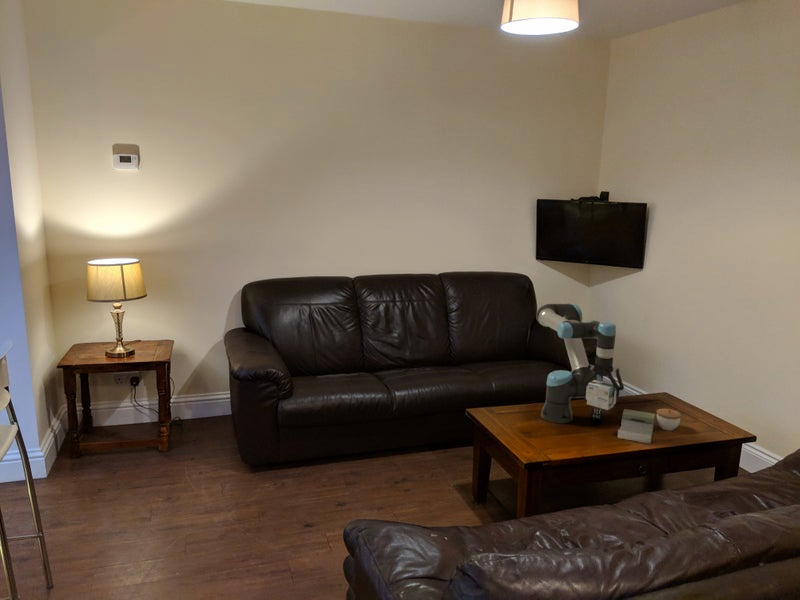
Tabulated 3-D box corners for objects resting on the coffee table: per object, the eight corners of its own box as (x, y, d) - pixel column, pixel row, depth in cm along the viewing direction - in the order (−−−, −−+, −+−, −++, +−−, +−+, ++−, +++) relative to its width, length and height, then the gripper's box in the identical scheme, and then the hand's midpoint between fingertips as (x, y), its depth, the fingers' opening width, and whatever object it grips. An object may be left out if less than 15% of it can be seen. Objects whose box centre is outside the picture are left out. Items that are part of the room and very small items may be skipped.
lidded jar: (681, 433, 282) (684, 414, 280) (657, 431, 284) (659, 412, 282) (676, 424, 292) (678, 406, 290) (653, 422, 294) (655, 404, 292)
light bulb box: (614, 406, 279) (616, 384, 276) (608, 410, 274) (610, 388, 272) (592, 400, 286) (594, 379, 284) (586, 404, 281) (588, 382, 279)
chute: (617, 437, 276) (618, 429, 275) (621, 426, 289) (622, 418, 289) (650, 443, 270) (651, 436, 269) (652, 431, 283) (653, 424, 282)
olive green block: (621, 425, 290) (622, 413, 289) (623, 420, 296) (624, 408, 295) (652, 431, 284) (653, 419, 283) (653, 425, 290) (654, 414, 289)
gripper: (576, 354, 277) (572, 398, 281) (631, 362, 266) (626, 408, 271) (579, 350, 283) (575, 393, 288) (633, 357, 273) (628, 402, 277)
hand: (600, 400), depth 279 cm, fingers closed on light bulb box, 12 cm apart
